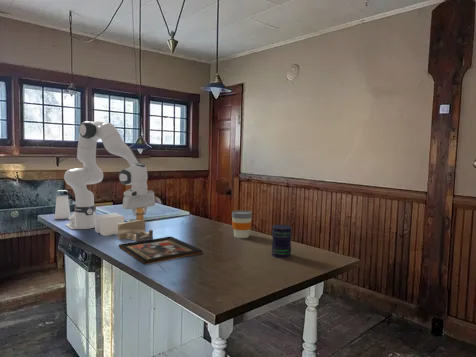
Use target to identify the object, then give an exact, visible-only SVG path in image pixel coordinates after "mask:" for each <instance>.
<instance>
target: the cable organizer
mask: <svg viewBox="0 0 476 357" xmlns="http://www.w3.org/2000/svg"><path fill="white" fill-rule="evenodd" d="M120 223H125V217H124V216H123V215H120V214H119V213H107V214H105V213H104V214H97V216H96V217H95V227H94V231H95V232H96V233H98V234H100V235H101V236H105V237H107V236H111V235H116V236H118V224H120Z"/></svg>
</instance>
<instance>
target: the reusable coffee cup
mask: <svg viewBox="0 0 476 357" xmlns="http://www.w3.org/2000/svg"><path fill="white" fill-rule="evenodd" d="M252 217H253V212H252V211H250V210H245V209H244V210H241V209H240V210H239V209H238V210H232V212H231V218H232V220H231V225H232V229H233V236H234V238H237V239H246V238H249V236H250V230H251V229H252V228H251V227H252Z"/></svg>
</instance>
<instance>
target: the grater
mask: <svg viewBox="0 0 476 357" xmlns="http://www.w3.org/2000/svg"><path fill="white" fill-rule="evenodd" d="M57 192H67V193H68V192H69V191H68V190H66V189H64V190H63V189H59V190H57V191H56V194H55V196H56V199H55V209H54V211H55V212H54V220H59V219H62V220H63V219H69V218H70V216H71V215H72V214H71V209H70V208H71V207H70V202H69V195H68V194H67V195H58V194H57Z"/></svg>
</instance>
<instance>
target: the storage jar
mask: <svg viewBox="0 0 476 357" xmlns="http://www.w3.org/2000/svg"><path fill="white" fill-rule="evenodd" d="M292 230H293V229H292V226H291V225H288V224H274V225H272V230H271V237H272V244H271V256H272V257H273V258H276V259H289V258H291V256H292V243H291V242H292V241H291V240H292V237H293V236H292V234H293V231H292Z"/></svg>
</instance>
